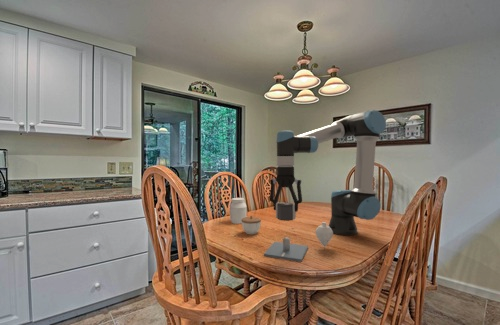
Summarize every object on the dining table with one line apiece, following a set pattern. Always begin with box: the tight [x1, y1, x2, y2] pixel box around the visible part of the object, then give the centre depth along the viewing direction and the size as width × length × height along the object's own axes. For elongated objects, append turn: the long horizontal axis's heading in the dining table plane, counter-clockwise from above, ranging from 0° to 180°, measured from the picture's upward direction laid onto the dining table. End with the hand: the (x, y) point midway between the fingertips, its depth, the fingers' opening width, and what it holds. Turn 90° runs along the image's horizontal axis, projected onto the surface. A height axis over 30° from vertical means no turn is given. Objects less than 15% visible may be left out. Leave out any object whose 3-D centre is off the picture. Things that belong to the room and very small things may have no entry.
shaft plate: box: [263, 236, 309, 263], centre depth 107 cm, size 16×16×6 cm
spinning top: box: [315, 221, 334, 249], centre depth 111 cm, size 8×8×12 cm
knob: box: [276, 201, 294, 222], centre depth 107 cm, size 7×7×7 cm
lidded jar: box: [241, 215, 262, 235], centre depth 135 cm, size 11×11×9 cm
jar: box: [229, 197, 248, 225], centre depth 159 cm, size 12×10×15 cm
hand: (285, 218), depth 107 cm, fingers closed on knob, 7 cm apart
